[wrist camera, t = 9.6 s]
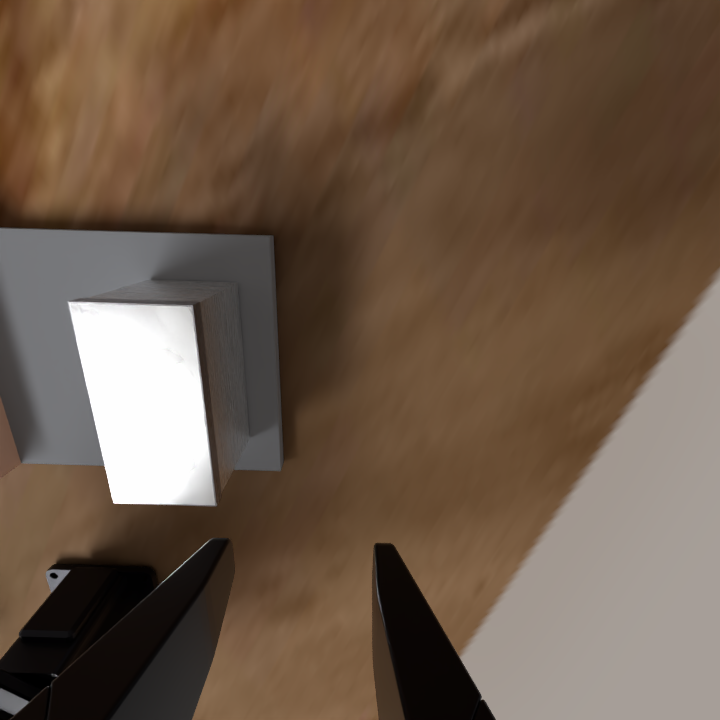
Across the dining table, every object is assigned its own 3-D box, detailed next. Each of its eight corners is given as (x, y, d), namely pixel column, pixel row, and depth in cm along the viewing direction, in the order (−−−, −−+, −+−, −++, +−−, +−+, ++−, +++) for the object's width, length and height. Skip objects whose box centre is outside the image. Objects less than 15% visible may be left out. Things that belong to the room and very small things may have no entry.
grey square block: (250, 439, 20) (216, 506, 16) (171, 436, 20) (113, 503, 16) (238, 281, 18) (193, 305, 13) (146, 278, 18) (67, 301, 13)
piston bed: (283, 462, 22) (272, 496, 19) (13, 454, 22) (-35, 486, 19) (273, 235, 18) (257, 239, 15) (-60, 225, 18) (-133, 227, 15)
